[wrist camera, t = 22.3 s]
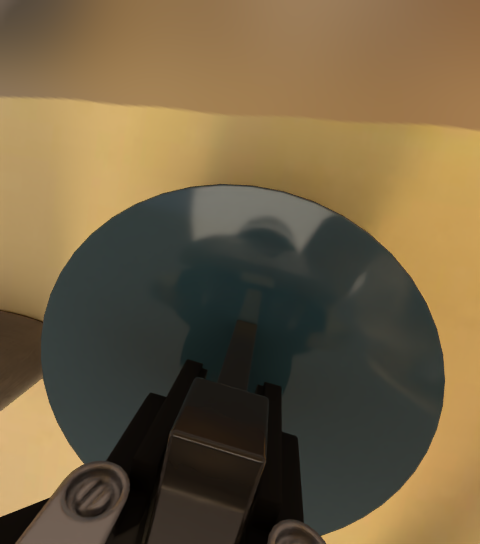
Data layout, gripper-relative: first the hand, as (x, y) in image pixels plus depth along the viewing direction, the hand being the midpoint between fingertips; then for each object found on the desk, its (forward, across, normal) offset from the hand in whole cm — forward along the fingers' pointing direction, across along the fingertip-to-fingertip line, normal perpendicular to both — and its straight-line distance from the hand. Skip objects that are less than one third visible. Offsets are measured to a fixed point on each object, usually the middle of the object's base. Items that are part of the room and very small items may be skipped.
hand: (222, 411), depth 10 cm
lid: (+1, 0, 0) cm, 1 cm away
